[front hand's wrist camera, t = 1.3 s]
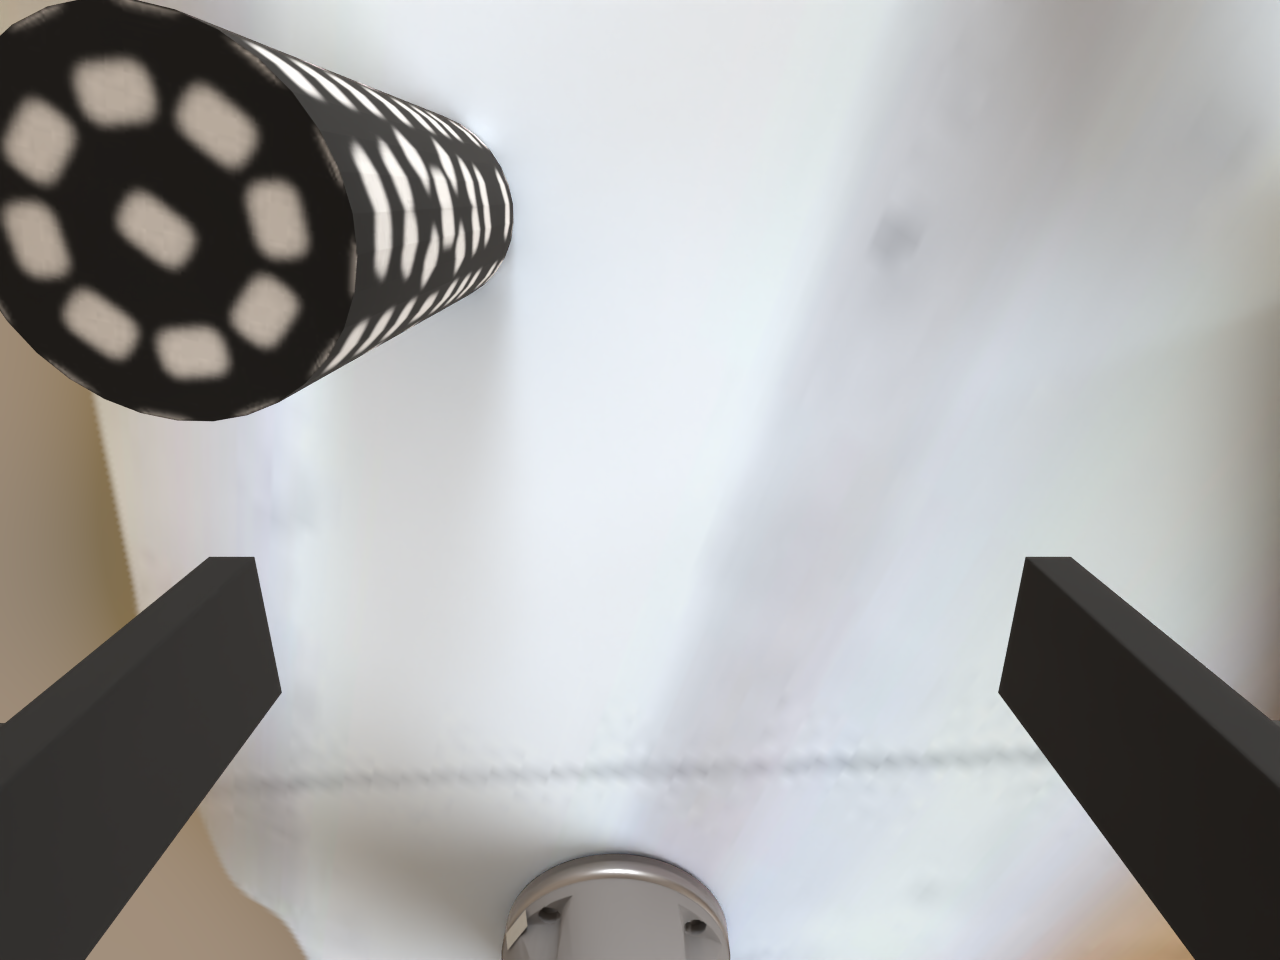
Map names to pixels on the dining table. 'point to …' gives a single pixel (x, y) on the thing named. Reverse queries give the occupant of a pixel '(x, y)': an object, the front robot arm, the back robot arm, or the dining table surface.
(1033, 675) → the front robot arm
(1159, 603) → the dining table surface
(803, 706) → the dining table surface
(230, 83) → the black white spotted cylinder
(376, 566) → the dining table surface
